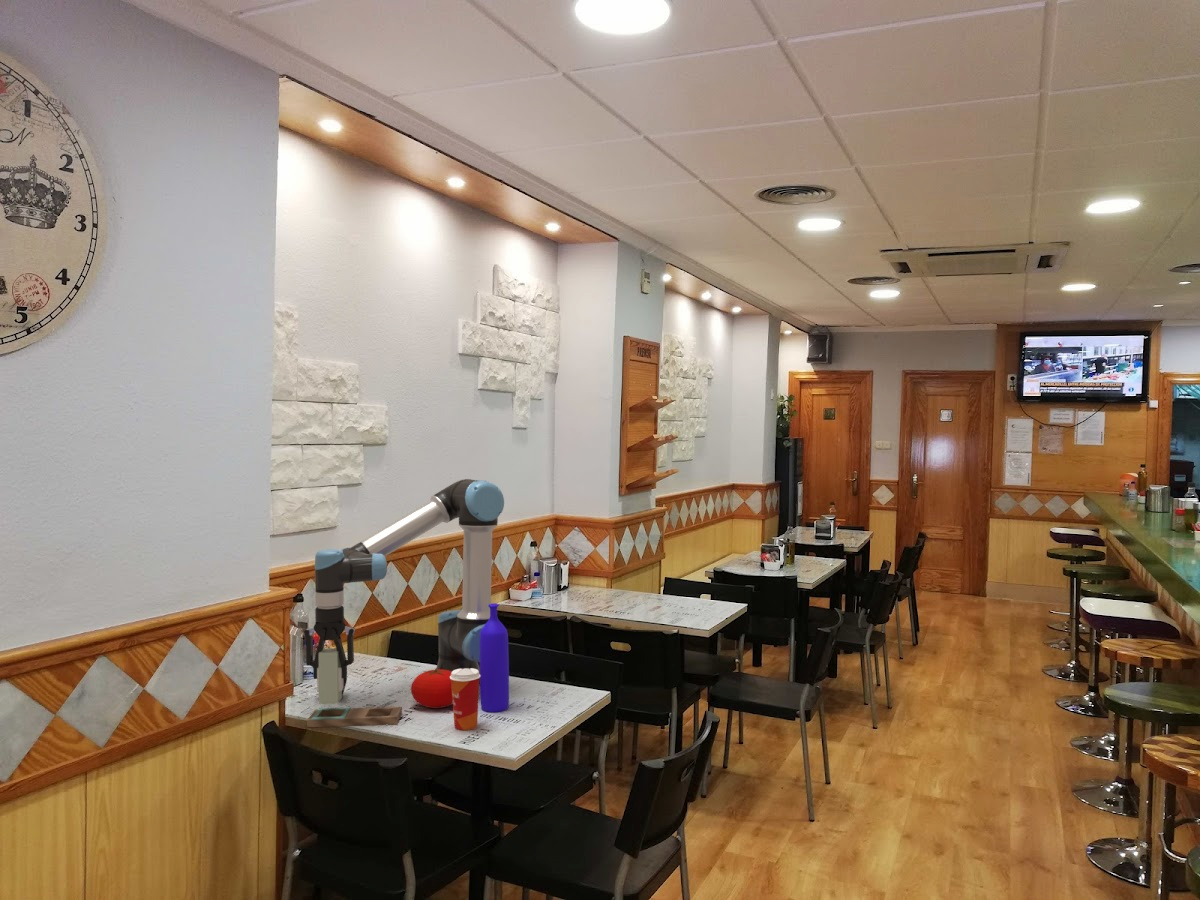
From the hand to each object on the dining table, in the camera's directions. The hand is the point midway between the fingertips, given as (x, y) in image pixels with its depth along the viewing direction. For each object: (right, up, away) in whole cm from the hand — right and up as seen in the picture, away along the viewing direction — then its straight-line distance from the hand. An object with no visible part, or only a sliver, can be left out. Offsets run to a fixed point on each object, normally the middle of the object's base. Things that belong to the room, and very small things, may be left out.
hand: (330, 689), depth 245 cm
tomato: (+27, -8, +13) cm, 31 cm away
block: (0, -3, 0) cm, 3 cm away
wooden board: (+7, -9, +1) cm, 11 cm away
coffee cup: (+38, -9, -5) cm, 40 cm away
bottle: (+44, -8, +10) cm, 46 cm away
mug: (-5, -8, +20) cm, 22 cm away
